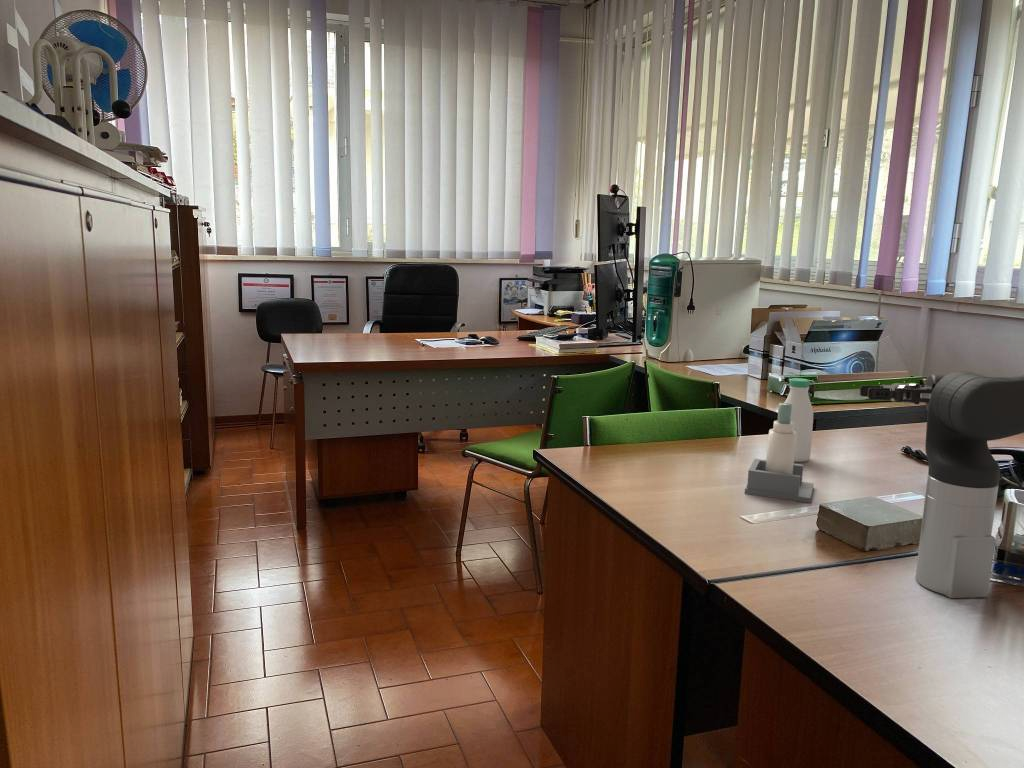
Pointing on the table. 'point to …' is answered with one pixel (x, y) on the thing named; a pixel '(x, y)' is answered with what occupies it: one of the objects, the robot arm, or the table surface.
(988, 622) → the table surface
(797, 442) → the milk bottle
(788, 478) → the box
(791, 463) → the plastic bottle
